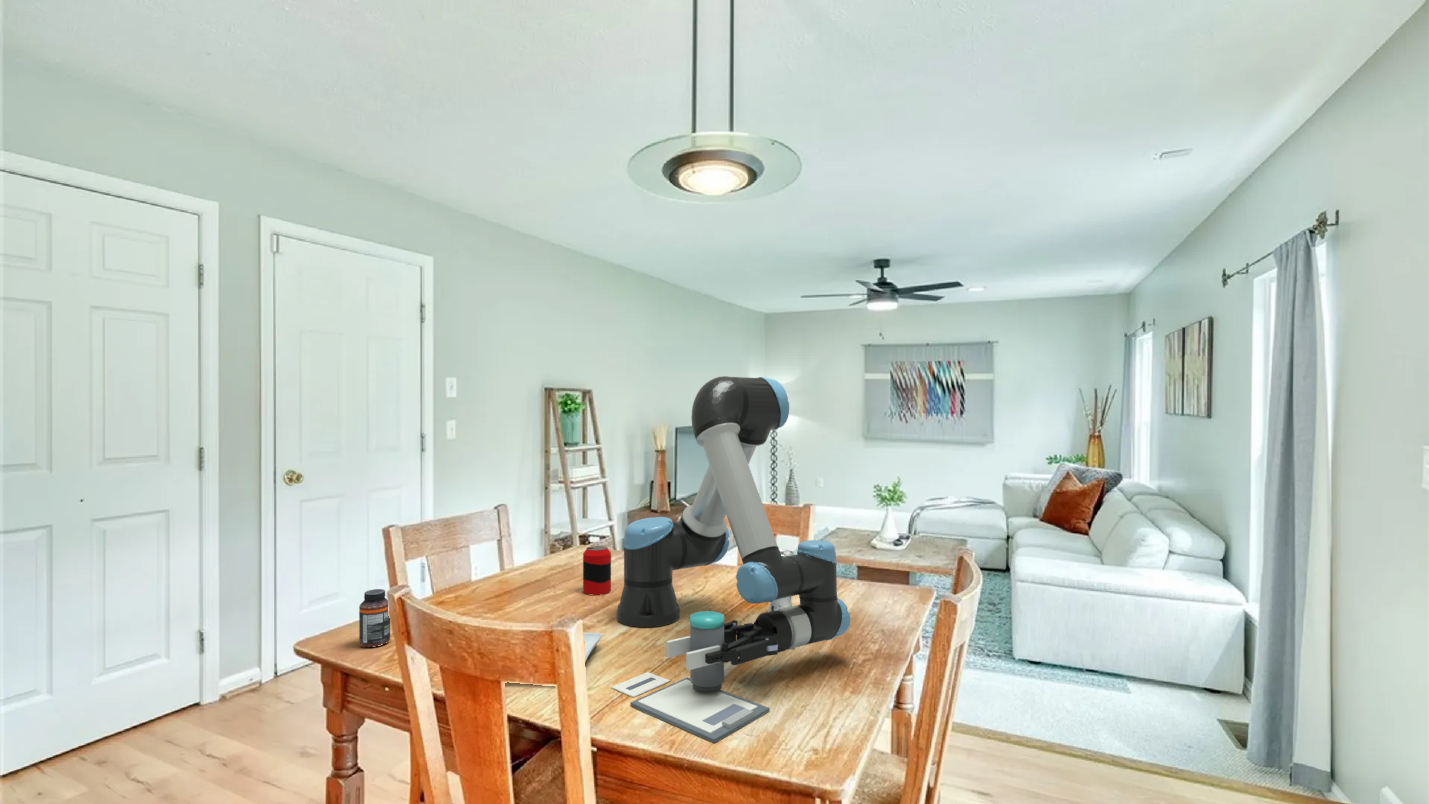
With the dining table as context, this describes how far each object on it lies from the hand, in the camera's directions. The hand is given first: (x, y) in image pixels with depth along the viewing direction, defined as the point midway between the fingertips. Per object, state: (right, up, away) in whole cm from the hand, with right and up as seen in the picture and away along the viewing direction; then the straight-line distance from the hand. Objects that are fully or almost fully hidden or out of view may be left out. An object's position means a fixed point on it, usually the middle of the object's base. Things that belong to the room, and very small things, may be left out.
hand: (677, 655), depth 114 cm
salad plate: (-28, -9, +17) cm, 34 cm away
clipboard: (+4, -8, -2) cm, 9 cm away
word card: (-7, -8, +7) cm, 13 cm away
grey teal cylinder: (+5, -7, +3) cm, 9 cm away
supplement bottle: (-67, -9, +28) cm, 73 cm away
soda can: (-26, -9, +69) cm, 74 cm away
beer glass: (+23, -9, +50) cm, 55 cm away
